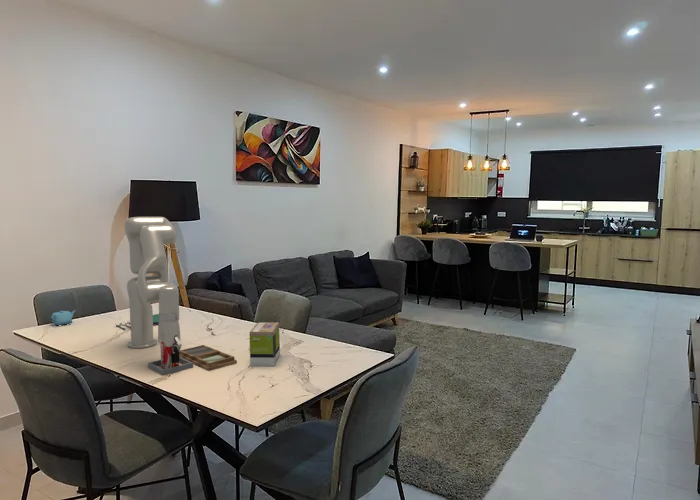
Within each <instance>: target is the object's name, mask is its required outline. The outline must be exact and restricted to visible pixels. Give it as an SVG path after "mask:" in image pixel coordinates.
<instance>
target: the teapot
mask: <svg viewBox="0 0 700 500" xmlns="http://www.w3.org/2000/svg"><path fill="white" fill-rule="evenodd" d="M75 312H76V309H75V310H73V311H71V312H70V311H69V310H60V311H56V312H52V315H51V319H52V323H53V325H56V326H59V325H62V326H63V325H66V324H72V323H73V319H72V318H73V317H74V313H75Z"/></svg>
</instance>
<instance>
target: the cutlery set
mask: <svg viewBox="0 0 700 500" xmlns="http://www.w3.org/2000/svg"><path fill="white" fill-rule="evenodd" d="M122 323H123V322H121V323H119V325H118V324H115V325H116V327H115V328H119V329H120V330H123V331H126V330H127V329H126V328H125V327H128V328H129V329H131V325H130V322H129V321H127V323H126V322H124V323H125V324H122ZM128 323H129V325H128ZM120 324H121V325H122V326H121V325H120ZM126 324H127V325H126ZM156 324H158V325H159V313H155V314H153V325H156Z"/></svg>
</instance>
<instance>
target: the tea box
mask: <svg viewBox="0 0 700 500" xmlns="http://www.w3.org/2000/svg"><path fill="white" fill-rule="evenodd" d="M280 340H281V339H280V322H256V324H254V326H253V327H252V328H251V330H250V331H249V361H250V362H249V363H250V366H251V367H274V366H275V365H276V362H277V361H278V359H279V357H280V356H281V345H280V342H281V341H280Z"/></svg>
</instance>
